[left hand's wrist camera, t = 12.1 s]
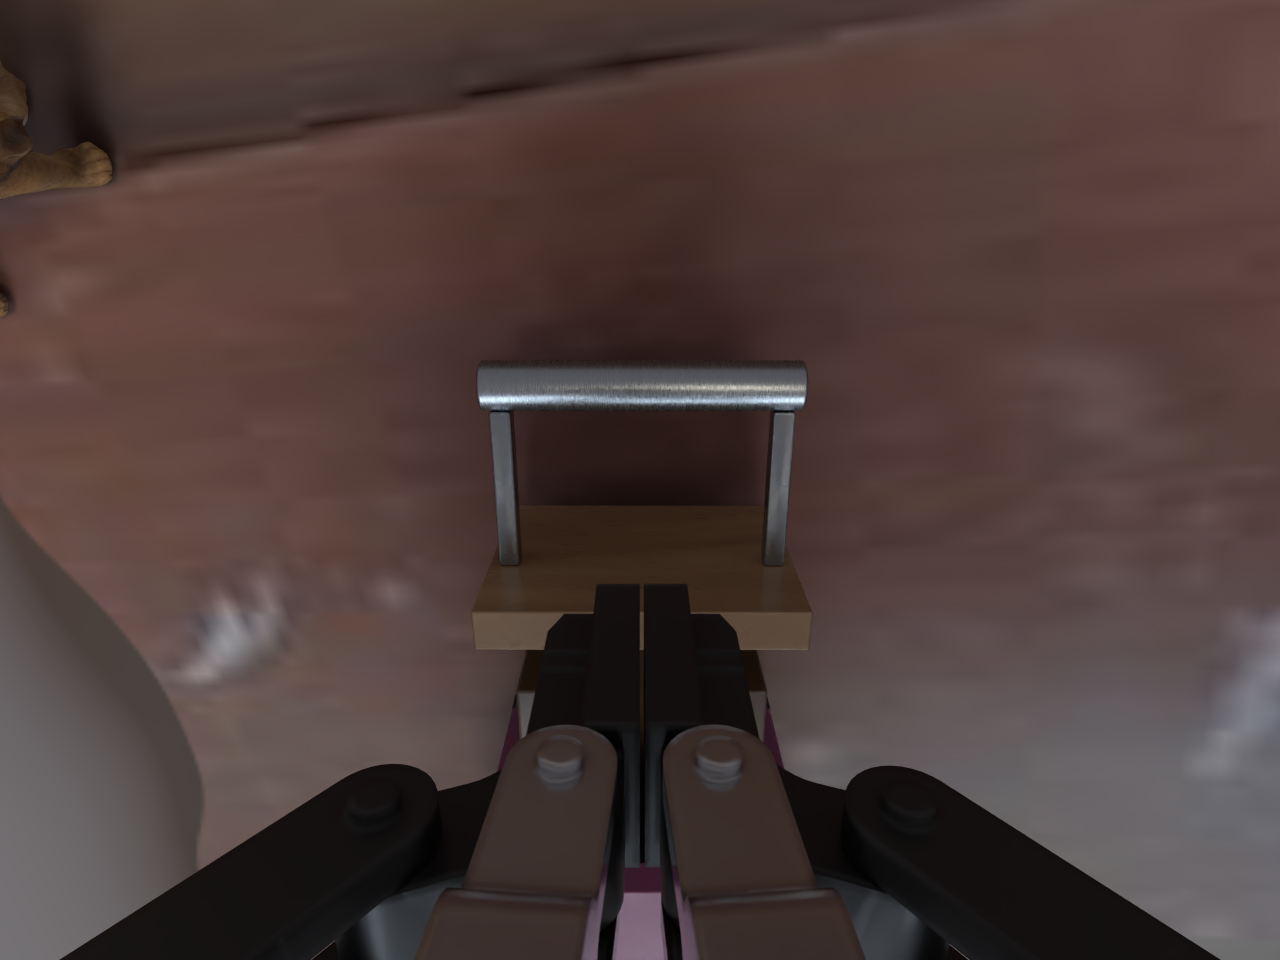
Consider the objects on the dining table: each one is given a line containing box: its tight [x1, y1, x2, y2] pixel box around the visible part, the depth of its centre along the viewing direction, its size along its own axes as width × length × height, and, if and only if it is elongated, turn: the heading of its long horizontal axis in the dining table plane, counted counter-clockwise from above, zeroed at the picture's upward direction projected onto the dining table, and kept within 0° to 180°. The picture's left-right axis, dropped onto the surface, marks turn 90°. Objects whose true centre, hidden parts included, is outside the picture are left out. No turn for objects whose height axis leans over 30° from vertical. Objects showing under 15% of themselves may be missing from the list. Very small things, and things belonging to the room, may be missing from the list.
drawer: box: [471, 360, 812, 863], centre depth 26 cm, size 26×9×7 cm, turn 0°
